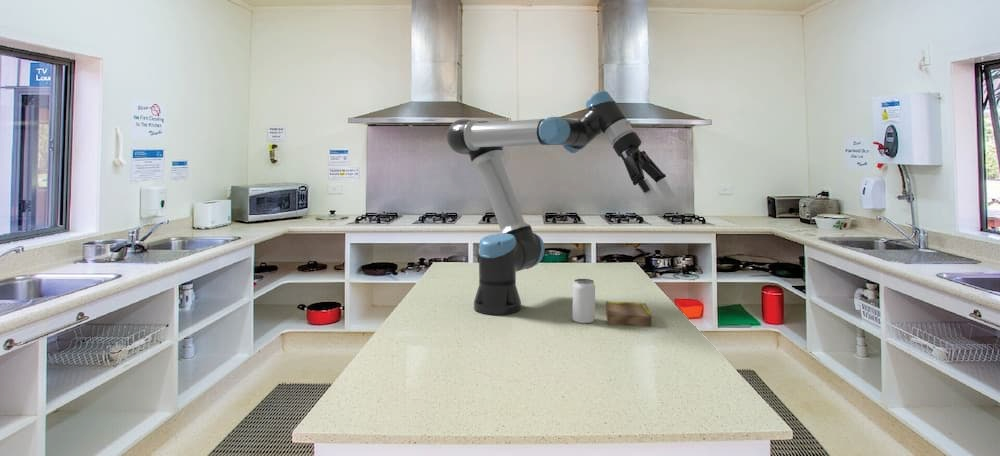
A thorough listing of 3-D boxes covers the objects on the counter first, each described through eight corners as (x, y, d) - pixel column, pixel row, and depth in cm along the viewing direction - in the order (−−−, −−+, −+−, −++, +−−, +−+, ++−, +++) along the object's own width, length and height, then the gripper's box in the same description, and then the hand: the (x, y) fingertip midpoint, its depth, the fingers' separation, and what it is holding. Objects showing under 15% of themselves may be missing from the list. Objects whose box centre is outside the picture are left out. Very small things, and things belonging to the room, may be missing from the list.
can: (572, 323, 144) (572, 282, 143) (572, 316, 151) (573, 277, 149) (594, 324, 143) (595, 283, 142) (594, 317, 150) (595, 278, 148)
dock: (608, 324, 143) (608, 312, 143) (605, 312, 155) (605, 301, 154) (651, 326, 141) (651, 314, 141) (645, 314, 153) (645, 302, 153)
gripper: (615, 127, 131) (660, 194, 126) (649, 133, 151) (688, 191, 145) (594, 145, 135) (636, 210, 130) (629, 148, 155) (667, 205, 150)
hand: (664, 200), depth 138 cm, fingers open, 13 cm apart
